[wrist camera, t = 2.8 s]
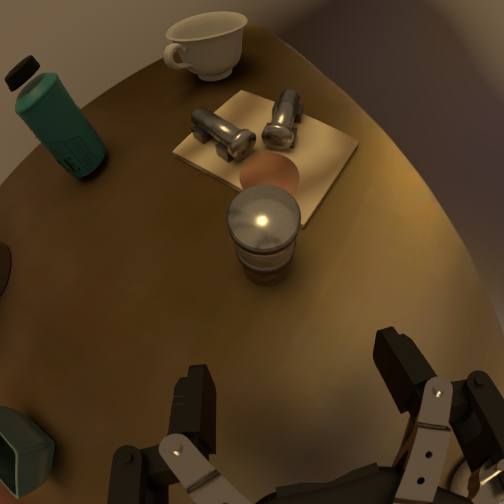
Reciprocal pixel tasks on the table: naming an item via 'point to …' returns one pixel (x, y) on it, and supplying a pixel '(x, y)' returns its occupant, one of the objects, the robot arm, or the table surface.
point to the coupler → (264, 231)
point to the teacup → (207, 44)
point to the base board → (274, 155)
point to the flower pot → (23, 453)
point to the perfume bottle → (461, 480)
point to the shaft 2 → (283, 121)
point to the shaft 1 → (222, 135)
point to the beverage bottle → (55, 119)
